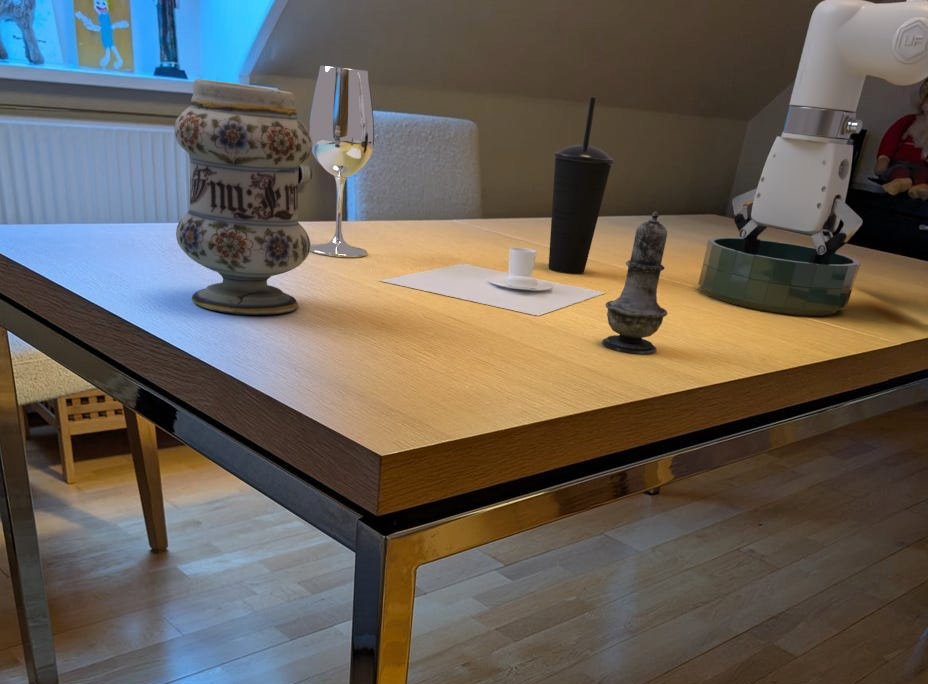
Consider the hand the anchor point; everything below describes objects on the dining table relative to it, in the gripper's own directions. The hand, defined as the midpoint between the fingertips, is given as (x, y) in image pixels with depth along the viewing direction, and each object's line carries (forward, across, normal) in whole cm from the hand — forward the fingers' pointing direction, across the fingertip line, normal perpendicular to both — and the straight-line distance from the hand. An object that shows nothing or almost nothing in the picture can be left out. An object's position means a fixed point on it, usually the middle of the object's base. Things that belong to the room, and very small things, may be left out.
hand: (776, 279), depth 116 cm
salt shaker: (+3, -9, +41) cm, 42 cm away
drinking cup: (+3, +22, +15) cm, 27 cm away
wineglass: (+2, +38, +41) cm, 56 cm away
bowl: (+3, 0, 0) cm, 3 cm away
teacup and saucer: (+2, +16, +34) cm, 38 cm away
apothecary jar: (+2, +16, +68) cm, 70 cm away
